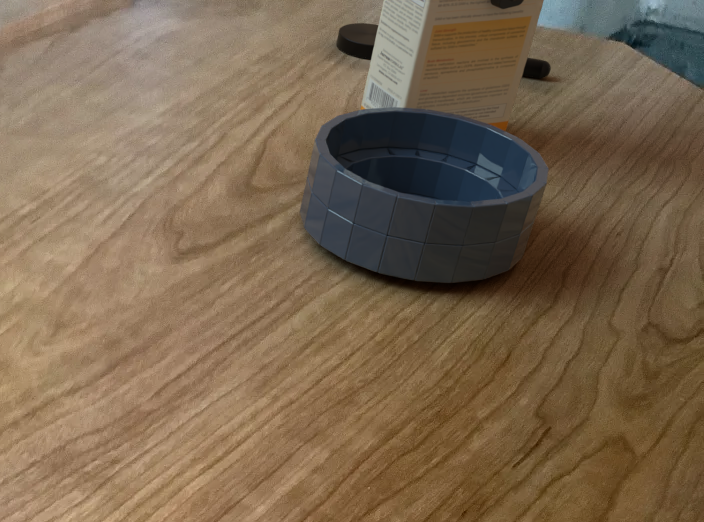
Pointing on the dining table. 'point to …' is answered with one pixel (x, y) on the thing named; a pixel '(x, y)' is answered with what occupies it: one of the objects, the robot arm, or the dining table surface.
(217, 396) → the dining table surface
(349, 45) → the dark round paddle
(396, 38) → the supplement box
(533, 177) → the bowl
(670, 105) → the dining table surface
